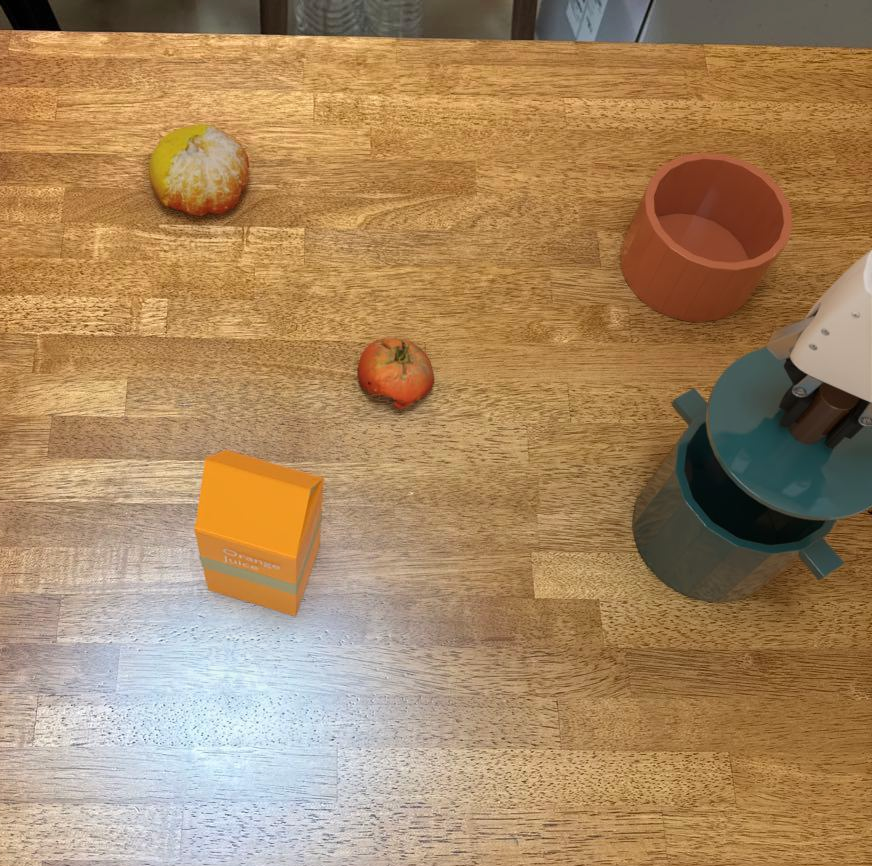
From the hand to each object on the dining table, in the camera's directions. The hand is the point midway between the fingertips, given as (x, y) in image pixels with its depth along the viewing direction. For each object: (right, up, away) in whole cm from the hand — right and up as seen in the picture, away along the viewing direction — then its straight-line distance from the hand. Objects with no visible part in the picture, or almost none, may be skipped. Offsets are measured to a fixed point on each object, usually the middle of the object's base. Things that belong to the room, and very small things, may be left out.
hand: (811, 421), depth 80 cm
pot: (-1, -9, +20) cm, 22 cm away
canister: (+1, +21, +32) cm, 39 cm away
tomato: (-31, +7, +25) cm, 41 cm away
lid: (0, -1, +1) cm, 2 cm away
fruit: (-52, +30, +34) cm, 69 cm away
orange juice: (-44, -12, +17) cm, 49 cm away
